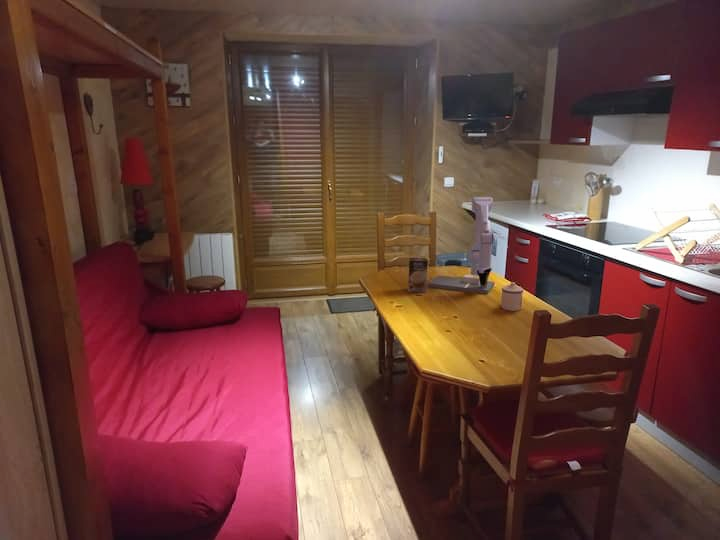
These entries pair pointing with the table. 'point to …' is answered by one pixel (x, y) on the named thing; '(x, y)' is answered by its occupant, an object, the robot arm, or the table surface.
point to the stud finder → (471, 279)
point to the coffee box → (417, 275)
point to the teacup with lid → (511, 297)
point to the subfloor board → (459, 285)
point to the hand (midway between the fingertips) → (483, 283)
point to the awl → (485, 284)
